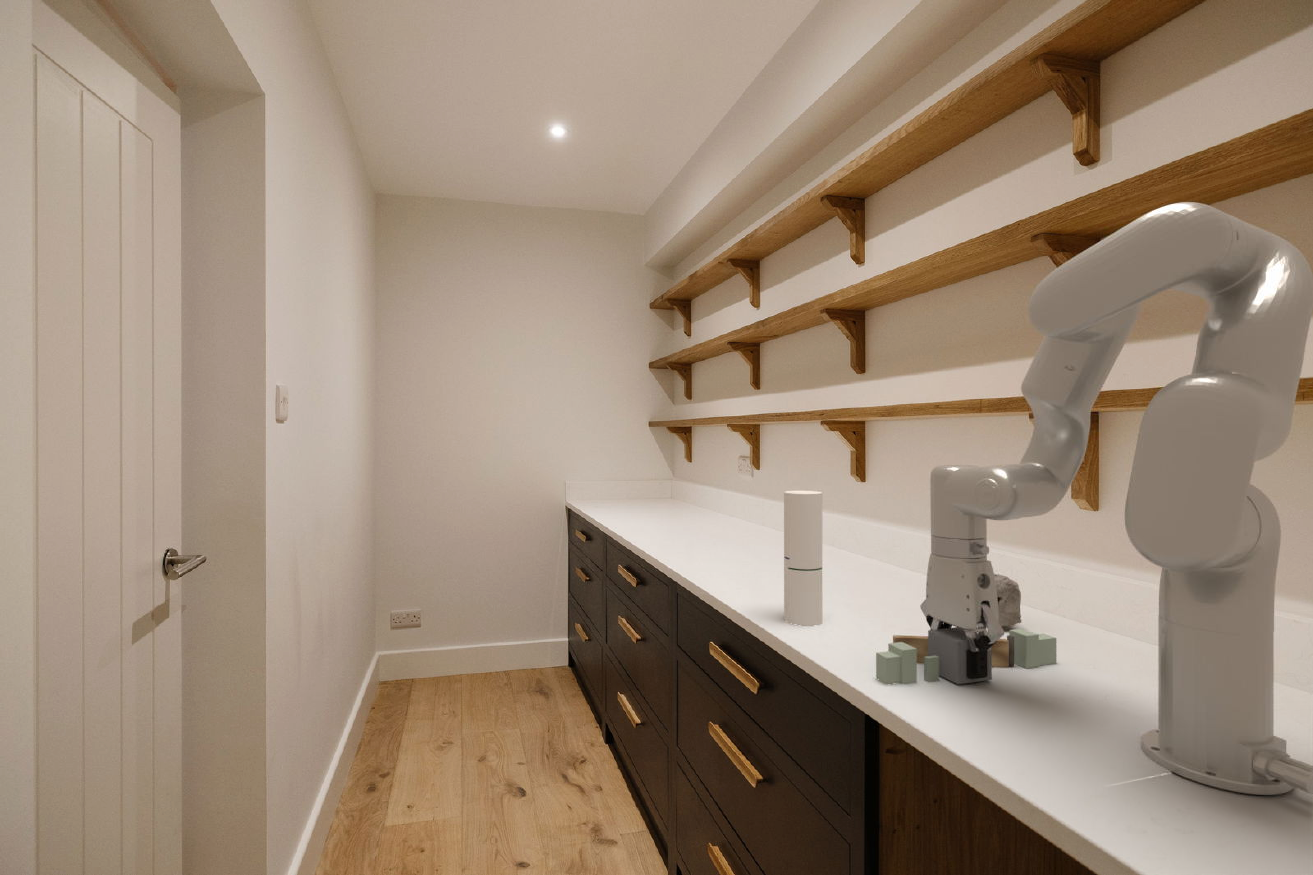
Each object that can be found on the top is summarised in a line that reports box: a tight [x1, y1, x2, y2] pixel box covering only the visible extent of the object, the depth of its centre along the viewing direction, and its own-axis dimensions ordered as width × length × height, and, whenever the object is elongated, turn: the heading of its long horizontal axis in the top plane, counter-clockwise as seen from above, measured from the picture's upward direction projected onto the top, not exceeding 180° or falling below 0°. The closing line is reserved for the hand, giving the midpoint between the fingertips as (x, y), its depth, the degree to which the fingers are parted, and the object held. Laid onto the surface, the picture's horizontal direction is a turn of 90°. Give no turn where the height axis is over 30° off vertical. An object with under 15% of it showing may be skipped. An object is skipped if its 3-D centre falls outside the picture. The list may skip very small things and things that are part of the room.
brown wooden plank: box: [892, 634, 1015, 668], centre depth 102 cm, size 18×3×5 cm, turn 83°
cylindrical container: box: [783, 490, 823, 627], centre depth 123 cm, size 7×7×25 cm
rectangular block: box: [927, 626, 993, 685], centre depth 96 cm, size 6×6×6 cm
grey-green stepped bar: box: [875, 628, 1057, 685], centre depth 98 cm, size 3×31×5 cm, turn 107°
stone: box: [994, 573, 1022, 627], centre depth 123 cm, size 13×6×10 cm, turn 173°
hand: (959, 668), depth 96 cm, fingers closed on rectangular block, 6 cm apart
